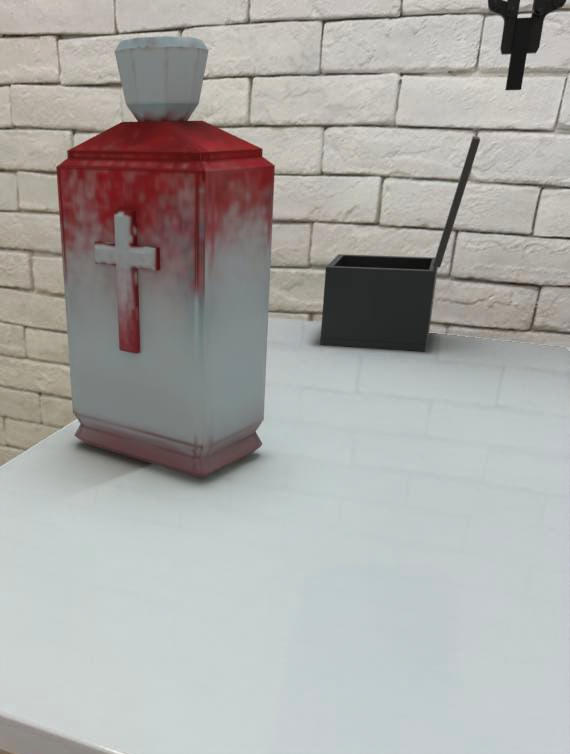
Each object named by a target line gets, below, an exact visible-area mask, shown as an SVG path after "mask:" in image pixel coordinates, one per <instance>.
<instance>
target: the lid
mask: <svg viewBox="0 0 570 754" xmlns="http://www.w3.org/2000/svg"><path fill="white" fill-rule="evenodd" d="M480 142H481V137H480V136H475V135H473V136H472V137H471V141H470V144H469V148H468V151H467V153H466V157H465V160H464V163H463V164H464V165H463V166H462V170H461V173H460V176H459V180H458V182H457V186H456V189H455V193H454V195H453V199H452V202H451V204H450V205H451V206H450V208H449V211H448V215H447V217H446V221H445V225H444V228H443V231H442V234H441V238H440V241H439V244H438V247H437V250H436V254H435V257H434V258H435V261H434V265H433V266H435V267H438V268H441V266H442V263H443V259H444V256H445V254H446V250H447V247H448V244H449V241H450V238H451V234H452V231H453V228H454V226H455V222H456V219H457V215H458V212H459V209H460V206H461V202H462V199H463V196H464V193H465V190H466V187H467V184H468V180H469V177H470V174H471V170H472V168H473V165H474V162H475V158H476V156H477V151H478V148H479V146H480Z"/></svg>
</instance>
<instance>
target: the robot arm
mask: <svg viewBox="0 0 570 754" xmlns="http://www.w3.org/2000/svg"><path fill="white" fill-rule="evenodd" d="M566 2H567V0H532V8H531V15H530V16H529V17H518V15H519V11H520V4H521V0H487V9H488V12H489V13H490V14H493V15H495V16H498V17H501V18H502V19H503V28H502V34H501V42H500V47H499V48H500V55H501V56H503V55H504V56H505V55H507V56H509V55H510V56H509V62H508V70H507V76H506V81H505V82H506V83H505V89H504V90H505V91H521V90H522V86H523V80H524V74H525V69H526V61H527V55H528V54H529V55H532V54H533V55H534V54H537V52H538V50H539V48H540V46H541V39H542V34H543V27H544V22H545V18H546V16H548V15H550V14H551V13H554V12H556V11H560V10H561V9H562V8H563V7H564V6H565V4H566Z"/></svg>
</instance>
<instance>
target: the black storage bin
mask: <svg viewBox="0 0 570 754" xmlns="http://www.w3.org/2000/svg"><path fill="white" fill-rule="evenodd" d="M434 261H435V257H432V256H431V257H429V256H398V255H373V254H372V255H369V254H345V253H344V254H342V253H341V254H340V253H339V254H337V255H336V256H335V257H334V258H333V259H332V260H331V261H330V262H329V263H328V264H327V265H326V266H325V275H324V287H323V288H324V289H323V300H322V313H321V327H320V338H319V339H320V340H319V345H322V346H337V347H353V348H366V349H382V350H394V351H395V350H399V351H411V352H413V351H414V352H426V349H427V345H428V340H429V335H430V329H431V321H432V314H433V308H434V299H435V292H436V284H437V277H438V271H439V269H438V268H439V267H435V266H433V265H434Z"/></svg>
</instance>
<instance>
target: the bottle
mask: <svg viewBox="0 0 570 754" xmlns="http://www.w3.org/2000/svg"><path fill="white" fill-rule="evenodd" d="M209 52H210V50H209V48H208V47H207V46H206V44H205V42H204V41H203V40H202V39H199V38H196V37H191V36H169V35H159V36H140V37H132V38H129V39H128V38H127V39H122V40H120V42H119V43H118V45H117V46H116V48H115V49H114V55H115V60H116V64H117V69H118V73H119V74H118V75H119V79H120V84H121V88H122V92H123V93H122V94H123V97H124V103H125V105H126V107H127V108H128V110H129V111H130V113H131V115H133V117H134V118H135V119H136V121H121V122H119V123H116V124H115V125H113V126H112V127H110V128H108V129H106V130H104V131H102V132H100V133H98V134H96V135H94V136H92V137H90V138H89V139H86V140H84V141H83V142H80V143H78V144H77V145H75V146H73V147H72V148H70V149H68V150H67V151H66V154H67V156H66V157H67V158H65V159H64V160H63V161H61V162H60V163H59V164H58V165H56V166H55V168H56V169H55V170H56V183H57V199H58V213H59V227H60V228H59V229H60V243H61V257H62V258H61V259H62V273H63V286H64V287H63V289H64V303H65V316H66V333H67V347H68V349H67V350H68V363H69V377H70V378H69V379H70V391H71V392H70V393H71V407H72V413H73V414H74V415H73V416H75V418H76V420H77V421H78V422H79V426H78V428H76V429H77V430H76V431H75V433H74V437H76V439H78V440H80V441H82V442H83V443H85V444H86V445H88V446H92V447H95V448H98V449H102V450H105V451H108V452H111V453H114V454H118V455H122V456H125V457H128V458H131V459H135V460H138V461H140V462H141V461H142V462H145V463H148V464H151V465H155V466H158V467H161V468H165V469H168V470H172V471H174V472H176V473H177V472H178V473H181V474H185V475H187V476H191V477H194V478H197V479H200V480H203V479H205V478H207V477H209V476H211V475H213V474H215V473H217V472H218V471H221V470H222V469H225V468H227V467H230V465H231V466H232V464H235V463H236V462H239V461H241V460H242V459H244V458H247V457H249V456H250V455H251V454H253V453H255V452H256V451H257V450H259V449H260V448H261V447H262V446H263V442H262V440H261V438H260V437H259V435H258V433H257V431H258V429H259V427H260V426H261V424H262V423H263V422H264V420H265V419H264V418H265V402H266V401H265V400H266V399H265V398H266V376H267V373H266V371H267V356H268V355H267V353H268V330H269V311H270V310H269V309H270V307H269V306H270V287H271V285H270V284H271V263H272V262H271V259H272V239H273V219H274V218H273V216H274V196H275V195H274V193H275V172H276V171H275V170H276V169H275V168H276V165H275V164H273V162H271V161H270V160H268V159H267V158H265V157H264V156H263V152H264V151H263V148H262V147H260V146H258V145H256V144H253V143H251V142H249V141H247V140H245V139H243V138H241V137H238V136H236V135H234V134H232V133H230V132H227V131H225V130H223V129H221V128H219V127H217V126H215V125H213V124H211V123H209V122H207V121H204V120H189V119H190V118H191V116H192V115H193V113H194V112H195V110H196V108H197V107H198V105H199V104H200V100H201V93H202V88H203V84H204V77H205V73H206V66H207V62H208V56H209Z"/></svg>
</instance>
